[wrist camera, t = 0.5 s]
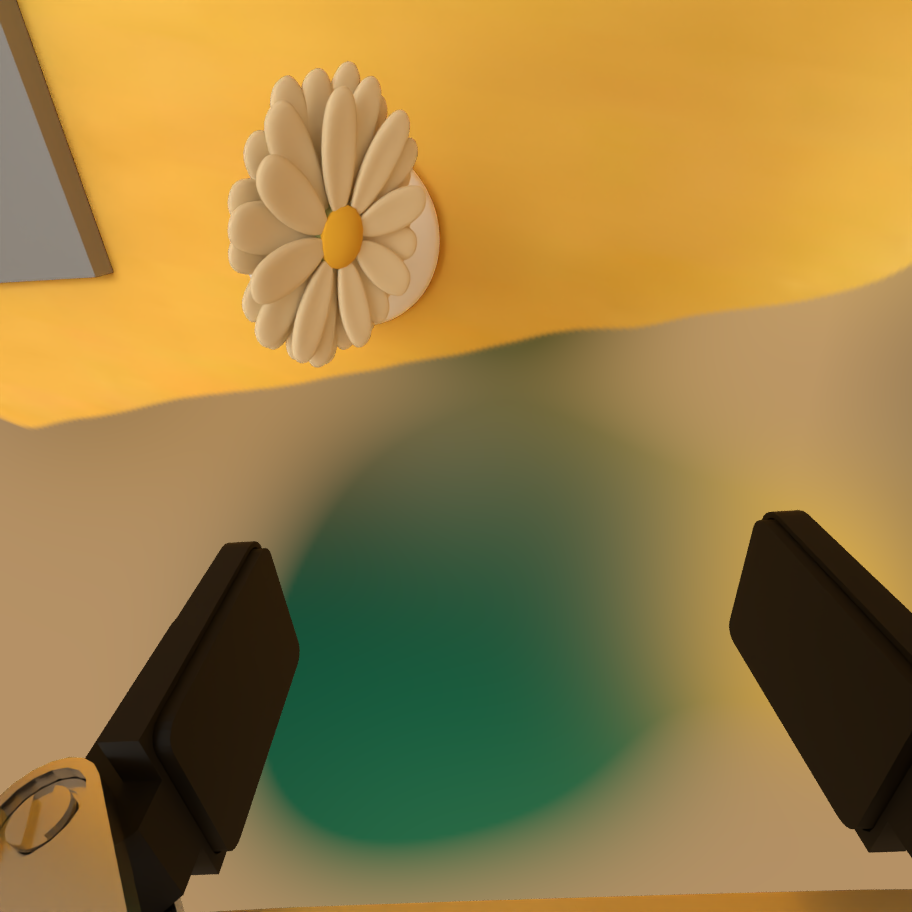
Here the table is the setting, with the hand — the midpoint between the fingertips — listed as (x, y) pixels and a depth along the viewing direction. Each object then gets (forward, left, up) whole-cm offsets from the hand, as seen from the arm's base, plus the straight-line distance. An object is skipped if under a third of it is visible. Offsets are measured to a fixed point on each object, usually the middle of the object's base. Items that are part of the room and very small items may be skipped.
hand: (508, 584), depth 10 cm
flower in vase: (-5, -7, -30) cm, 31 cm away
